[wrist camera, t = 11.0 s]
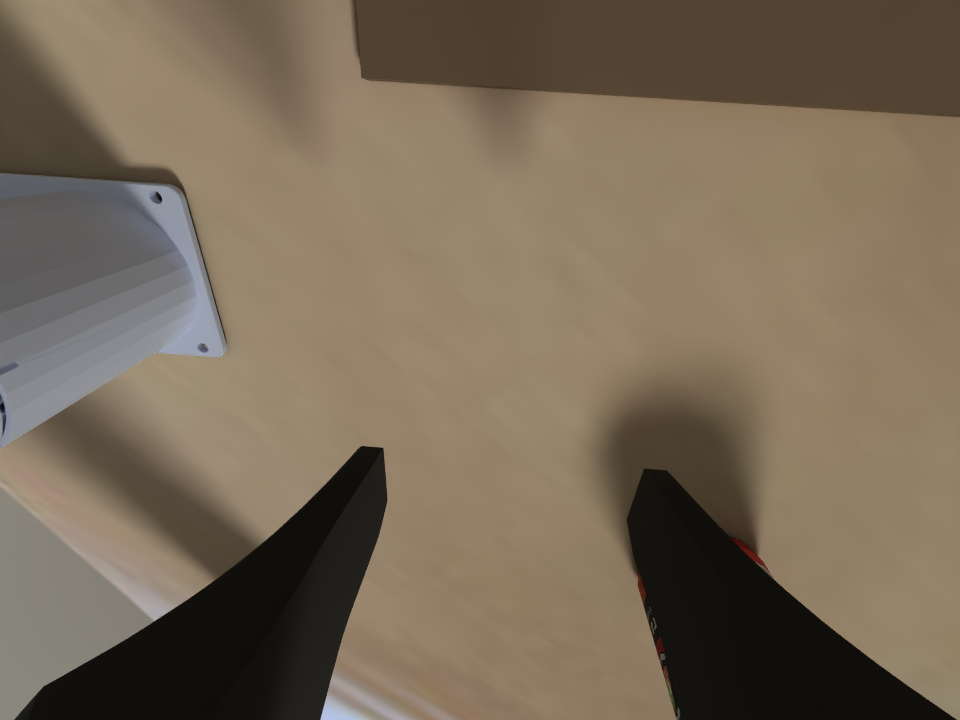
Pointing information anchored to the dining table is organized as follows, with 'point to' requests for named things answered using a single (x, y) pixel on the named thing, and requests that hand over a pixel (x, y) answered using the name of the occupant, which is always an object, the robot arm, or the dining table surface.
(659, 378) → the dining table surface
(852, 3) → the brown tray
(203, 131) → the dining table surface
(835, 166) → the dining table surface
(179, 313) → the robot arm
